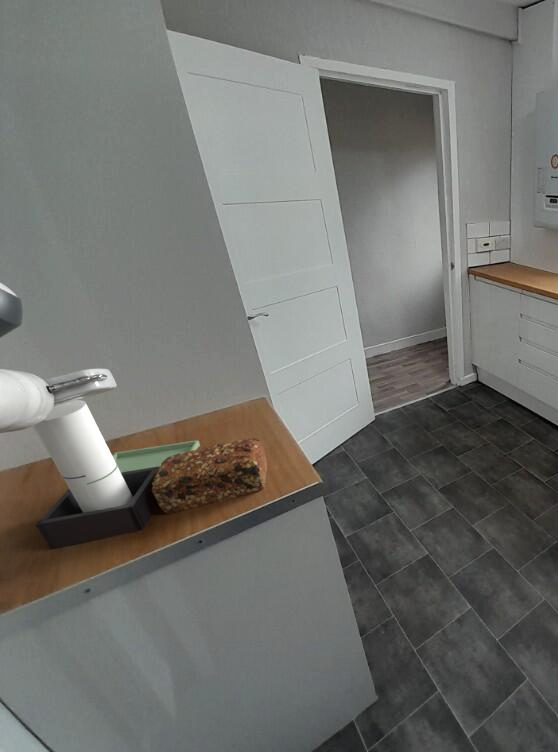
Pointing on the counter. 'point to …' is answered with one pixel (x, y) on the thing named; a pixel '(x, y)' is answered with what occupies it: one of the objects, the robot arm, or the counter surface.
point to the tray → (150, 455)
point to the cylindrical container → (83, 457)
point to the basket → (100, 514)
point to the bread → (210, 475)
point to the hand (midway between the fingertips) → (46, 400)
